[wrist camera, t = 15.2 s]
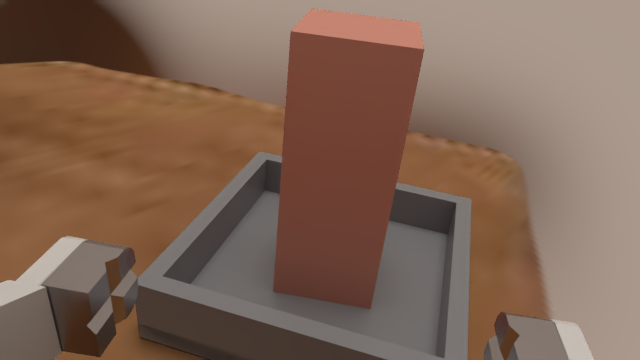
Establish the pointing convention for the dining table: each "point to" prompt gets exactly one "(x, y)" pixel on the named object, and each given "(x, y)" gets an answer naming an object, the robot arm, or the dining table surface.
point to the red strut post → (342, 151)
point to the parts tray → (300, 312)
